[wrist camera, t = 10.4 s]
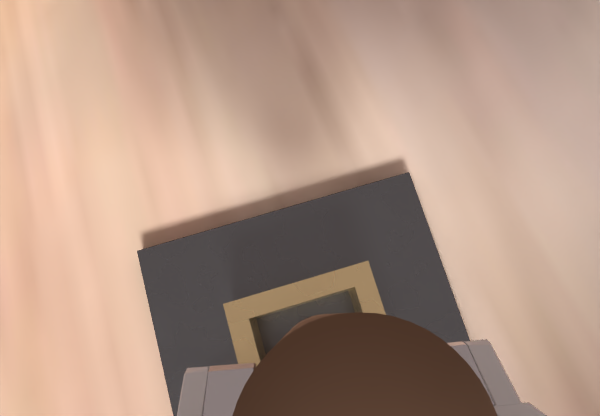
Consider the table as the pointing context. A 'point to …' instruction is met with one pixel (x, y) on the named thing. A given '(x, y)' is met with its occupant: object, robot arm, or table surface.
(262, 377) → the rail post
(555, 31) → the table surface
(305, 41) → the table surface
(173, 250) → the peg socket base
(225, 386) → the robot arm
